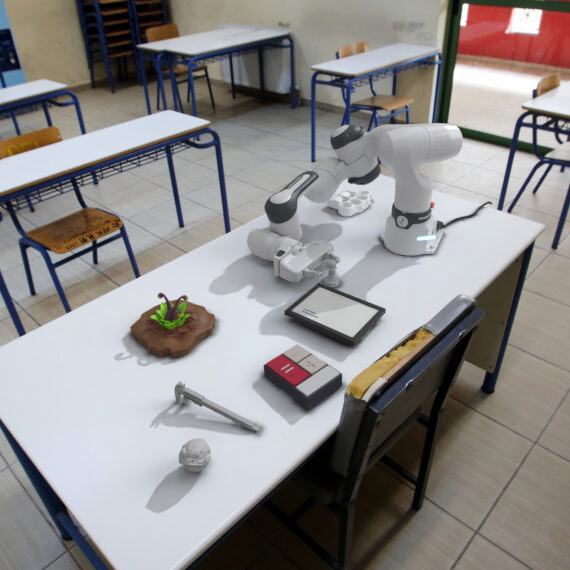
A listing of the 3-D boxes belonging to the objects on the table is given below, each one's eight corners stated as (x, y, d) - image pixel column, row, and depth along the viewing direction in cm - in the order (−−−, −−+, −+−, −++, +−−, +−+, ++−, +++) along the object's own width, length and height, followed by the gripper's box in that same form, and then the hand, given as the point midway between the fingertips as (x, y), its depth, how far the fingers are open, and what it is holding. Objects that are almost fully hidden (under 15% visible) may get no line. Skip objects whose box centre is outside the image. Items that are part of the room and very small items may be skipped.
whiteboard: (318, 292, 144) (318, 282, 142) (384, 318, 133) (386, 308, 131) (284, 320, 134) (284, 310, 132) (353, 352, 123) (354, 341, 121)
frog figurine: (176, 481, 95) (170, 457, 91) (187, 450, 100) (183, 427, 96) (207, 485, 94) (202, 462, 90) (217, 454, 99) (213, 430, 95)
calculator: (297, 341, 121) (343, 371, 111) (298, 355, 123) (343, 385, 113) (262, 362, 115) (307, 396, 105) (263, 376, 117) (307, 411, 108)
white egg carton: (346, 193, 199) (379, 202, 192) (322, 209, 188) (356, 220, 180) (347, 185, 197) (380, 193, 190) (322, 201, 186) (356, 211, 178)
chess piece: (341, 286, 146) (343, 262, 142) (326, 289, 145) (327, 265, 141) (335, 277, 150) (336, 254, 145) (321, 280, 149) (321, 257, 144)
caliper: (176, 402, 111) (171, 382, 107) (179, 398, 112) (174, 378, 108) (257, 432, 103) (256, 412, 100) (260, 429, 104) (258, 408, 101)
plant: (174, 298, 143) (168, 265, 137) (226, 322, 134) (223, 288, 127) (119, 336, 130) (109, 302, 123) (172, 366, 120) (165, 330, 114)
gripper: (310, 248, 161) (347, 261, 154) (271, 277, 147) (309, 293, 140) (310, 231, 157) (348, 243, 150) (270, 259, 144) (310, 274, 137)
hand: (329, 268), depth 145 cm, fingers open, 8 cm apart
